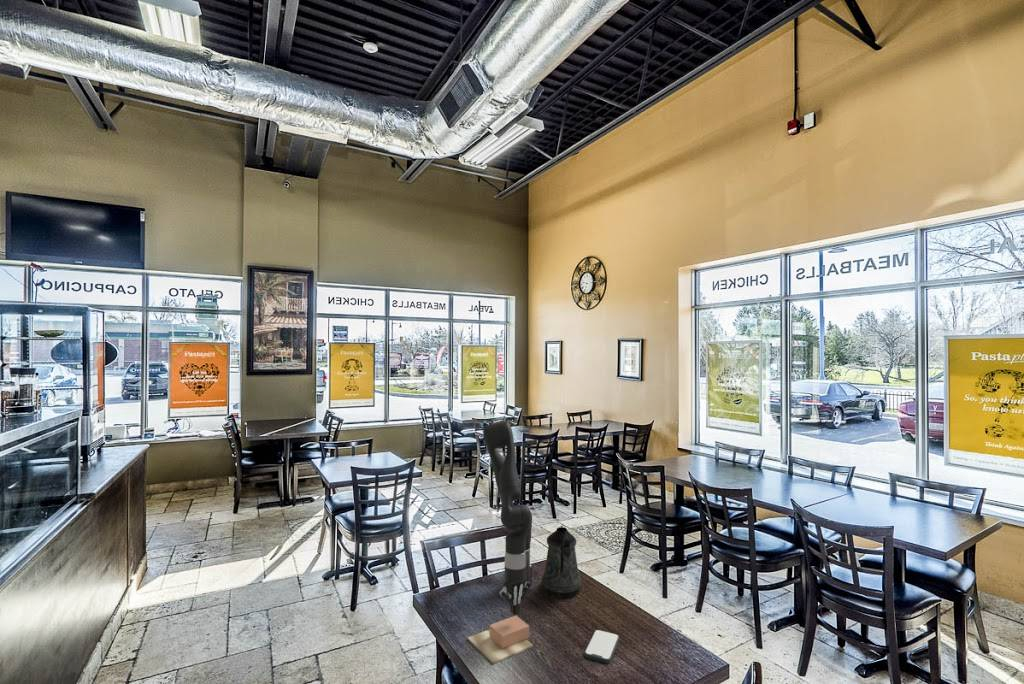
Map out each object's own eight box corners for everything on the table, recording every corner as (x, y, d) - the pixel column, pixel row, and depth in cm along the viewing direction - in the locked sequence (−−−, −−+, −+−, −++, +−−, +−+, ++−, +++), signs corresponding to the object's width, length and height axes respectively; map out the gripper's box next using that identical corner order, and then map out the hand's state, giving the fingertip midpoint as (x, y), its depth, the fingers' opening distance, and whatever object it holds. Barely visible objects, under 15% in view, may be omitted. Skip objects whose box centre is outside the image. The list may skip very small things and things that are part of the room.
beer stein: (563, 575, 216) (564, 518, 216) (594, 594, 200) (595, 532, 200) (533, 585, 206) (534, 526, 207) (563, 606, 190) (564, 541, 191)
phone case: (595, 633, 173) (582, 658, 159) (595, 628, 173) (583, 653, 159) (620, 639, 170) (610, 665, 155) (620, 634, 170) (610, 660, 155)
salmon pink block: (515, 615, 175) (489, 625, 168) (529, 625, 168) (502, 636, 162) (515, 627, 174) (489, 637, 168) (529, 638, 168) (502, 649, 162)
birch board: (506, 624, 177) (506, 622, 177) (533, 647, 164) (533, 645, 164) (467, 639, 168) (467, 637, 168) (492, 664, 155) (492, 662, 155)
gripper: (524, 555, 177) (524, 603, 176) (493, 564, 169) (493, 614, 169) (537, 563, 170) (536, 613, 170) (505, 572, 163) (505, 625, 163)
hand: (514, 613), depth 169 cm, fingers closed
